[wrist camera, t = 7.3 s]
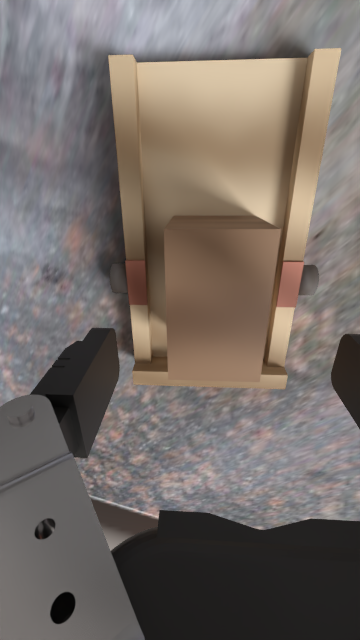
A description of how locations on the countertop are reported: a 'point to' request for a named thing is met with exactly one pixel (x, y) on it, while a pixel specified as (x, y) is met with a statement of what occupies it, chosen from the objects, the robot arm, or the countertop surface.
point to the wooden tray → (217, 179)
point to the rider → (218, 295)
